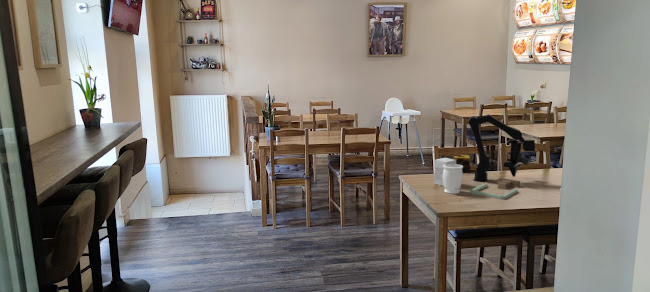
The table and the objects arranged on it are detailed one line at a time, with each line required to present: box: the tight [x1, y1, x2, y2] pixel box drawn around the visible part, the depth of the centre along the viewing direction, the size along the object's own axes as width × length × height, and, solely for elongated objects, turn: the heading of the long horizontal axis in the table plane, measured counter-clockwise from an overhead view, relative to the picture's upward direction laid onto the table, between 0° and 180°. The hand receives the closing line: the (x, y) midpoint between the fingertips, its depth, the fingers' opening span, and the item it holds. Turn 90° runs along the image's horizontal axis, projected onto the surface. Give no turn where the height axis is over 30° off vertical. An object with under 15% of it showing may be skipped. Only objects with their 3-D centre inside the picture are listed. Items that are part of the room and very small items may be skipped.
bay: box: [469, 183, 519, 201], centre depth 263 cm, size 19×19×2 cm
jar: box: [443, 164, 464, 195], centre depth 264 cm, size 11×10×15 cm
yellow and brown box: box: [453, 154, 471, 174], centre depth 313 cm, size 10×10×10 cm
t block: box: [496, 177, 521, 190], centre depth 275 cm, size 12×12×3 cm
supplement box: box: [433, 157, 456, 187], centre depth 280 cm, size 9×9×15 cm
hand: (513, 176), depth 283 cm, fingers closed
